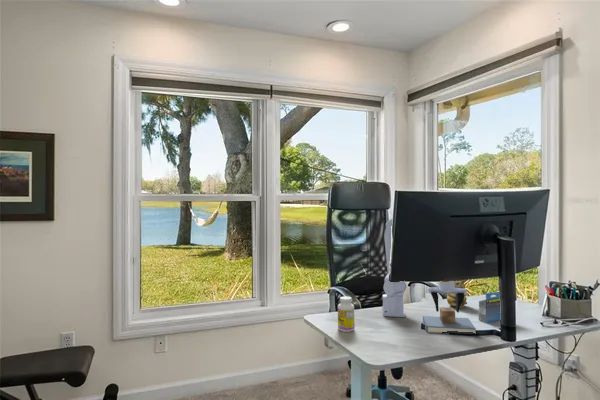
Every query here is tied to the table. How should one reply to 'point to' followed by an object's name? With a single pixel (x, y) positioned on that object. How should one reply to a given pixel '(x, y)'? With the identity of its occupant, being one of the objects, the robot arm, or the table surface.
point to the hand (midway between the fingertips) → (447, 311)
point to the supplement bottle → (346, 314)
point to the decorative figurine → (452, 297)
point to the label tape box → (489, 308)
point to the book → (447, 325)
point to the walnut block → (447, 315)
